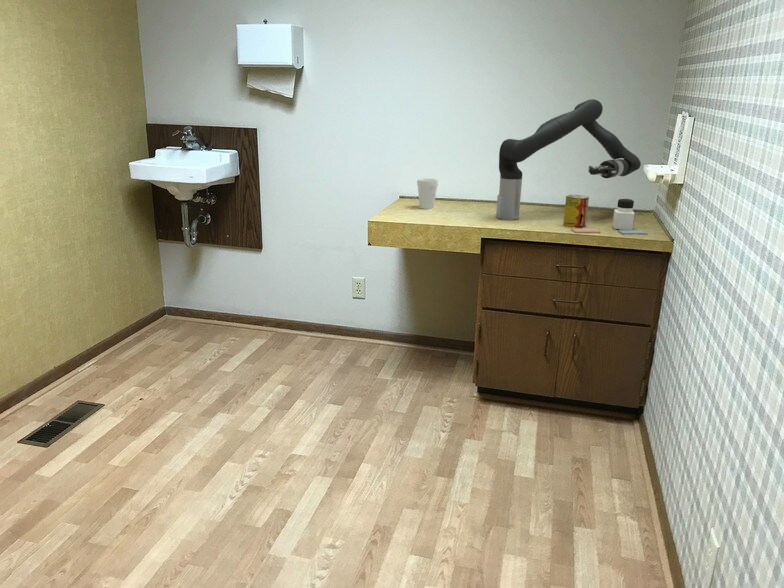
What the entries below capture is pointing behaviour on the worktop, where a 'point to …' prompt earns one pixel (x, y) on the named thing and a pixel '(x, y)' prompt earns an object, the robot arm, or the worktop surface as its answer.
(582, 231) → the terracotta tag
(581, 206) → the yellow red tin can
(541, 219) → the worktop surface
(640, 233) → the slate-blue tag
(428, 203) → the foam cup
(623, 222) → the medicine bottle
